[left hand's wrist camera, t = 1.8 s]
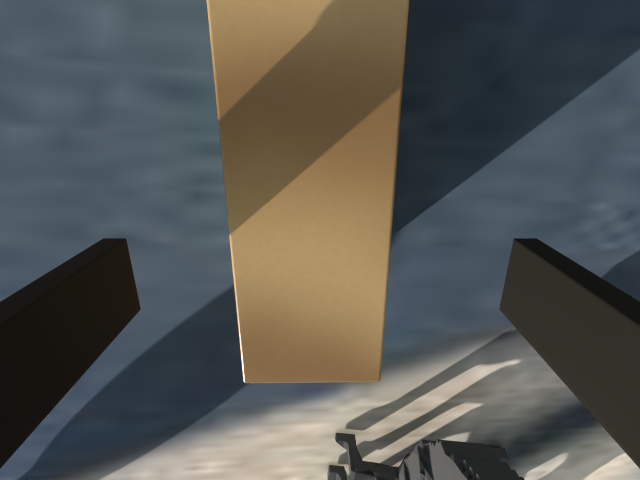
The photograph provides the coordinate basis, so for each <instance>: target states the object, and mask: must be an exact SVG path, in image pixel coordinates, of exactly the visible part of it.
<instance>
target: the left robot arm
mask: <svg viewBox="0 0 640 480" xmlns="http://www.w3.org/2000/svg"><path fill="white" fill-rule="evenodd" d="M139 310H140V304H139V299H138V294H137V289H136V284H135V280H134V275H133V270H132V265H131V260H130V255H129V251H128V246H127V241H126V239H102V240H100V241H99V242H97V243H95V244H94V245H92V246H91V247H89V248H87V249H86V250H84V251H82V252H81V253H79V254H78V255H76V256H74V257H73V258H71V259H69V260H68V261H66V262H64V263H63V264H61V265H60V266H58V267H56V268H55V269H53V270H51V271H50V272H48V273H47V274H45V275H43V276H42V277H40V278H38V279H37V280H35V281H34V282H32V283H30V284H29V285H27V286H25V287H24V288H22V289H20V290H19V291H17V292H16V293H14V294H12V295H11V296H9V297H7V298H6V299H4V300H3V301H1V302H0V468H1V467H2V466H3V465H4V464H5V463H6V461H7V460H8V459H9V458H10V457H11V456H12V455H13V453H14V452H15V451H16V450H17V449H18V448H19V447H20V446H21V444H22V443H23V442H24V441H25V440H26V439H27V438H28V436H29V435H30V434H31V433H32V432H33V431H34V430H35V428H36V427H37V426H38V425H39V424H40V423H41V422H42V421H43V419H44V418H45V417H46V416H47V415H48V414H49V413H50V411H51V410H52V409H53V408H54V407H55V406H56V405H57V404H58V402H59V401H60V400H61V399H62V398H63V397H64V396H65V394H66V393H67V392H68V391H69V390H70V389H71V388H72V386H73V385H74V384H75V383H76V382H77V381H78V380H79V379H80V377H81V376H82V375H83V374H84V373H85V372H86V371H87V369H88V368H89V367H90V366H91V365H92V364H93V363H94V362H95V360H96V359H97V358H98V357H99V356H100V355H101V354H102V352H103V351H104V350H105V349H106V348H107V347H108V346H109V345H110V343H111V342H112V341H113V340H114V339H115V338H116V337H117V335H118V334H119V333H120V332H121V331H122V330H123V329H124V327H125V326H126V325H127V324H128V323H129V322H130V321H131V320H132V318H133V317H134V316H135V315H136V314H137V313H138V312H139ZM500 310H501V312H502V313H503V314H504V315H505V316H506V317H507V318H508V320H509V321H510V322H511V323H512V324H513V325H514V326H515V327H516V329H517V330H518V331H519V332H520V333H521V334H522V335H523V337H524V338H525V339H526V340H527V341H528V342H529V343H530V345H531V346H532V347H533V348H534V349H535V350H536V351H537V352H538V354H539V355H540V356H541V357H542V358H543V359H544V360H545V362H546V363H547V364H548V365H549V366H550V367H551V368H552V369H553V371H554V372H555V373H556V374H557V375H558V376H559V377H560V379H561V380H562V381H563V382H564V383H565V384H566V385H567V386H568V388H569V389H570V390H571V391H572V392H573V393H574V394H575V396H576V397H577V398H578V399H579V400H580V401H581V402H582V404H583V405H584V406H585V407H586V408H587V409H588V410H589V411H590V413H591V414H592V415H593V416H594V417H595V418H596V419H597V421H598V422H599V423H600V424H601V425H602V426H603V427H604V428H605V430H606V431H607V432H608V433H609V434H610V435H611V436H612V438H613V439H614V440H615V441H616V442H617V443H618V444H619V446H620V447H621V448H622V449H623V450H624V451H625V452H626V453H627V455H628V456H629V457H630V458H631V459H632V460H633V461H634V463H635V464H636V465H637V466H638V467H639V468H640V302H639V301H637V300H636V299H634V298H633V297H631V296H629V295H628V294H626V293H624V292H623V291H621V290H620V289H618V288H616V287H615V286H613V285H611V284H610V283H608V282H606V281H605V280H603V279H602V278H600V277H598V276H597V275H595V274H593V273H592V272H590V271H589V270H587V269H585V268H584V267H582V266H580V265H579V264H577V263H576V262H574V261H572V260H571V259H569V258H567V257H566V256H564V255H562V254H561V253H559V252H558V251H556V250H554V249H553V248H551V247H549V246H548V245H546V244H545V243H543V242H541V241H540V240H538V239H514V241H513V246H512V251H511V255H510V260H509V265H508V270H507V275H506V280H505V284H504V289H503V294H502V299H501V304H500Z"/></svg>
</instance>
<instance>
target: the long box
mask: <svg viewBox="0 0 640 480" xmlns="http://www.w3.org/2000/svg"><path fill="white" fill-rule="evenodd" d="M207 9H208V19H209V29H210V40H211V50H212V60H213V71H214V81H215V91H216V102H217V112H218V123H219V133H220V143H221V154H222V164H223V174H224V185H225V195H226V205H227V216H228V226H229V236H230V247H231V257H232V267H233V278H234V288H235V298H236V309H237V319H238V330H239V340H240V350H241V361H242V371H243V381H244V383H299V382H379V381H380V378H381V365H382V352H383V339H384V326H385V313H386V300H387V287H388V273H389V260H390V247H391V234H392V221H393V208H394V195H395V182H396V168H397V155H398V142H399V129H400V116H401V103H402V90H403V77H404V63H405V50H406V37H407V24H408V11H409V0H207Z"/></svg>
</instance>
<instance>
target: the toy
mask: <svg viewBox="0 0 640 480" xmlns="http://www.w3.org/2000/svg"><path fill="white" fill-rule="evenodd" d="M335 440H336V442H337V443H338V444H340V445H341V446H342V447H343V448H345V449H346V450H347V454H348V463H349V471H350V477H351V478H352V479H353V480H524V478H523V477H519V476H518V474H517V473H516V471H515V470H511V469H510V467H509V466H508V464H507V463H505V462H506V460H507V459H508V456H507V454H506V451H505V449H504V448H494V447H490V446H489V445H484V444H478V443H468V442H457V441H446V440H437V441H427V440H420V442H417V444H416V446H415V448H414V449H413V451H412V453H411V454H408V453H407V455H406V457H405V458H404V460H403V461H402V463H401V465H400V466H399V467H391V466H388V465H383V464H379V463H374V462H366V461H362V458H361V456H360V454H359V452H358V450H357V447H356V440H355V435H354V434H343V433H336V435H335ZM328 480H347V473H346V471H345V469H344V466H334V465H329V468H328Z"/></svg>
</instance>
